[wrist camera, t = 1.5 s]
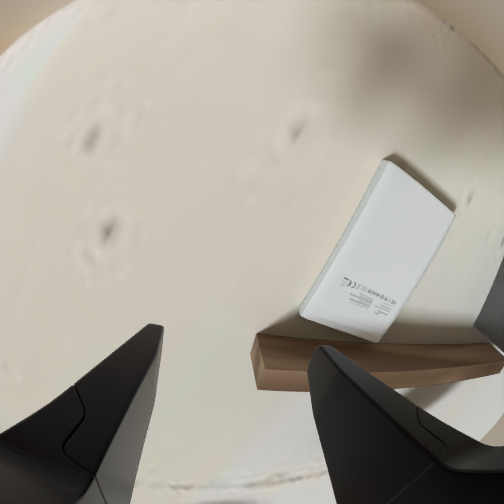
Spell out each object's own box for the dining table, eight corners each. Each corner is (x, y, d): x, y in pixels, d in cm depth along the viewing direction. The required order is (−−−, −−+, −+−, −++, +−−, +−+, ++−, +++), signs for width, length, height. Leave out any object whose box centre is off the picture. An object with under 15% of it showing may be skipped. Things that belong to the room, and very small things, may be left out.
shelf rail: (482, 355, 29) (499, 373, 25) (250, 353, 23) (257, 389, 19) (489, 343, 28) (507, 360, 25) (256, 333, 22) (264, 368, 19)
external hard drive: (445, 211, 22) (371, 334, 25) (378, 158, 19) (295, 306, 23) (457, 216, 20) (379, 345, 23) (390, 160, 18) (301, 318, 21)
